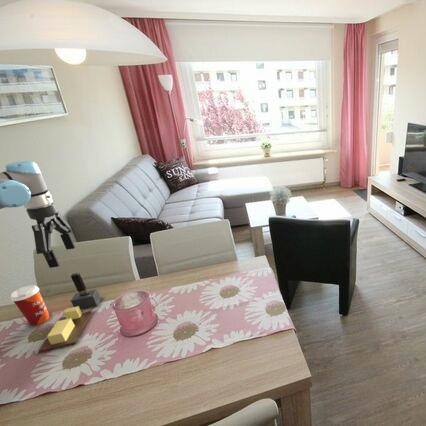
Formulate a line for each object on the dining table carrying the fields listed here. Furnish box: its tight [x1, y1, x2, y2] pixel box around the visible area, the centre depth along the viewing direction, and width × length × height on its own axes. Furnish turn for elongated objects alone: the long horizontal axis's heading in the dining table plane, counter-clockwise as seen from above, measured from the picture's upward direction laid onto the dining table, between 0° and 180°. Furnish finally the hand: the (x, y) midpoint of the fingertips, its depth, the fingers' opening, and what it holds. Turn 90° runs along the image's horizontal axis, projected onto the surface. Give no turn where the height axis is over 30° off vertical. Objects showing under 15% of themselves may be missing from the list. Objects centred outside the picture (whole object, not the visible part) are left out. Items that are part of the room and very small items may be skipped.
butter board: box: [38, 310, 93, 353], centre depth 113 cm, size 11×17×1 cm, turn 18°
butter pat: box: [62, 306, 83, 319], centre depth 118 cm, size 4×2×4 cm, turn 108°
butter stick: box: [46, 318, 75, 345], centre depth 110 cm, size 4×8×4 cm, turn 18°
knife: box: [70, 272, 89, 296], centre depth 124 cm, size 3×2×15 cm, turn 108°
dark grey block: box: [70, 288, 102, 311], centre depth 126 cm, size 8×5×6 cm, turn 108°
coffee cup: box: [10, 284, 51, 327], centre depth 117 cm, size 8×8×15 cm
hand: (63, 257), depth 111 cm, fingers open, 13 cm apart
